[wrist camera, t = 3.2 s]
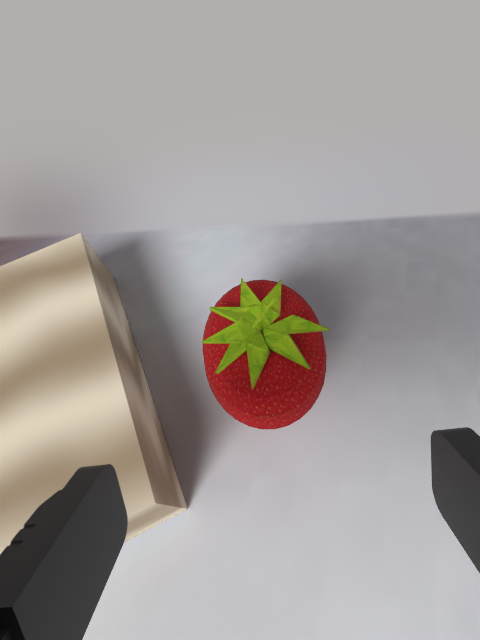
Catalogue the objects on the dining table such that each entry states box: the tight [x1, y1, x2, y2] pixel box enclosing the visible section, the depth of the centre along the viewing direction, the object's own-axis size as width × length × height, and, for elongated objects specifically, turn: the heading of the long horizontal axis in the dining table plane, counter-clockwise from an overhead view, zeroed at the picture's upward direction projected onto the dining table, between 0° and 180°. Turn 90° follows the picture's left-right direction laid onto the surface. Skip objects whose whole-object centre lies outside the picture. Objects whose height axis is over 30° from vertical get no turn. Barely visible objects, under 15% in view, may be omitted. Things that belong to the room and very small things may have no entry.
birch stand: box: [0, 233, 188, 554], centre depth 21 cm, size 18×14×5 cm
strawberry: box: [202, 278, 330, 429], centre depth 17 cm, size 6×8×10 cm
